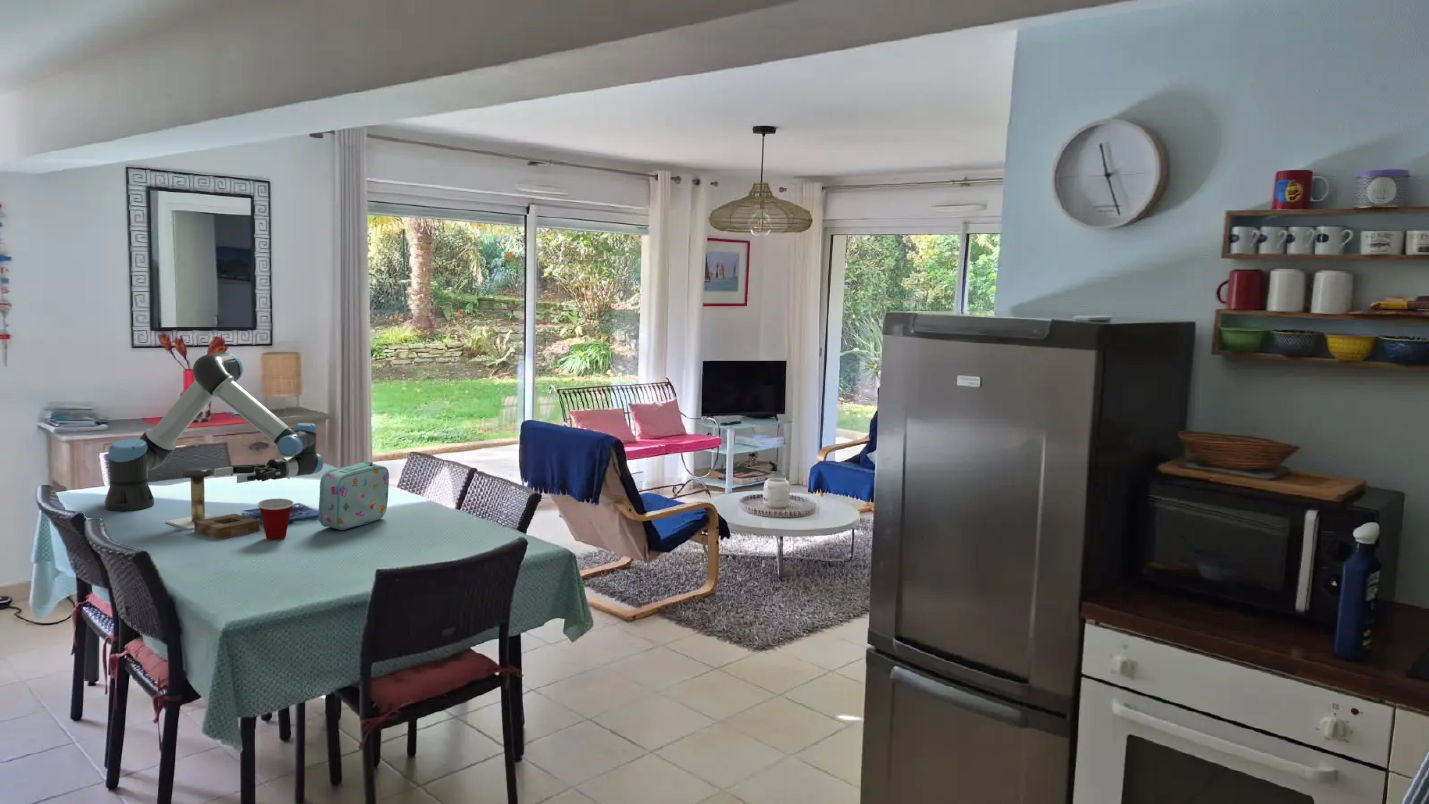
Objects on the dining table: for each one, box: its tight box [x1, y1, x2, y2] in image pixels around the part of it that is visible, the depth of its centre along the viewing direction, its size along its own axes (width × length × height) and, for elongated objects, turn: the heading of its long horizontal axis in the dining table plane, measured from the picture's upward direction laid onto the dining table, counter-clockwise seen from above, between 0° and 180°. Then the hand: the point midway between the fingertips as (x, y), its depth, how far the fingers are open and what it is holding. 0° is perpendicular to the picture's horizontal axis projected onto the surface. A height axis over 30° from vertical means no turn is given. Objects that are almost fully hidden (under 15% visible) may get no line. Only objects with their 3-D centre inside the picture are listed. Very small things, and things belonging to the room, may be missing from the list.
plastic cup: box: [256, 498, 294, 541], centre depth 310 cm, size 11×11×12 cm
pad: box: [165, 513, 217, 531], centre depth 325 cm, size 14×14×1 cm
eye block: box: [193, 513, 261, 540], centre depth 316 cm, size 14×14×4 cm
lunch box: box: [317, 460, 390, 531], centre depth 332 cm, size 27×10×21 cm, turn 160°
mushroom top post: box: [181, 466, 213, 522], centre depth 324 cm, size 9×9×18 cm
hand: (225, 476), depth 332 cm, fingers open, 13 cm apart
